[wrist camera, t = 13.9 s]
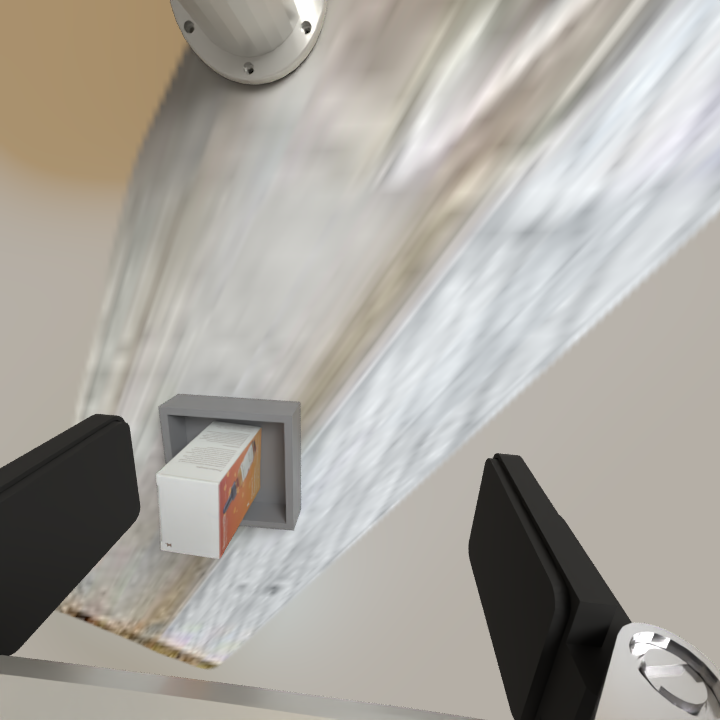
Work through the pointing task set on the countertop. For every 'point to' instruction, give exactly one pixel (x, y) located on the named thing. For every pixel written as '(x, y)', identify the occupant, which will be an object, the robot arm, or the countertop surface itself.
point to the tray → (278, 448)
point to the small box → (209, 489)
